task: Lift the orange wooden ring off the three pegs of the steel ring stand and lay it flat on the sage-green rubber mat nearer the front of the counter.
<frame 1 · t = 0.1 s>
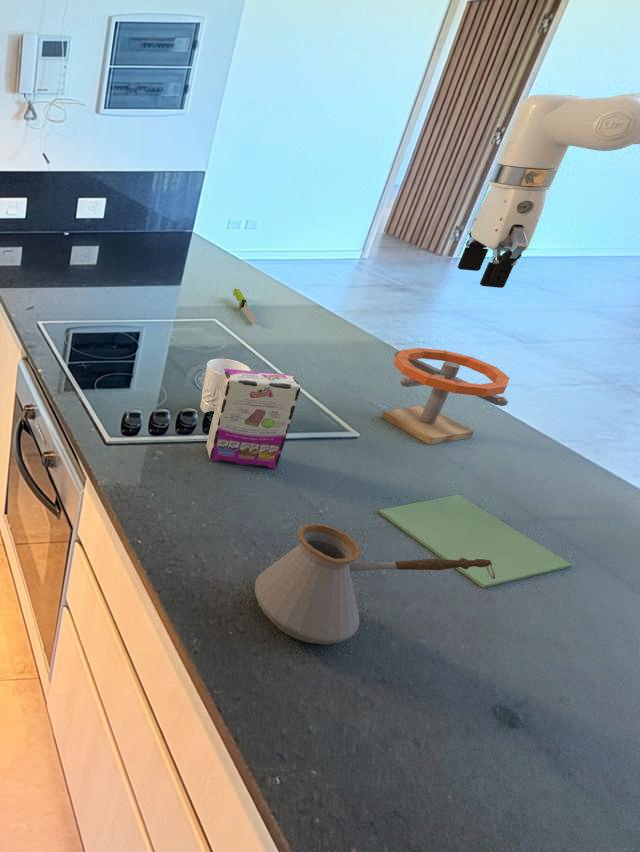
hand: (479, 277, 108), 30 cm above the worktop, tool pointing down, fingers open, 9 cm apart
white cup: (217, 411, 125), on the worktop
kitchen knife: (244, 313, 173), on the worktop
ring: (449, 370, 114), point 12 cm above the worktop, touching ring stand
ring stand: (424, 427, 119), on the worktop
coffee pot: (342, 630, 77), on the worktop
candy bar box: (239, 458, 110), on the worktop
mat: (468, 538, 92), on the worktop
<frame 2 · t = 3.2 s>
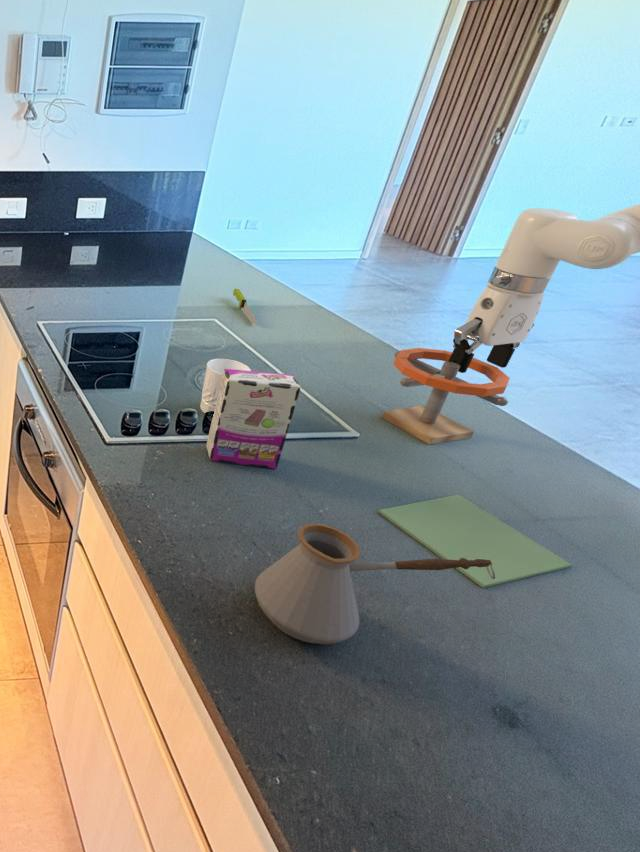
hand: (475, 366, 116), 12 cm above the worktop, tool pointing down, fingers open, 9 cm apart
nothing on the worktop moved.
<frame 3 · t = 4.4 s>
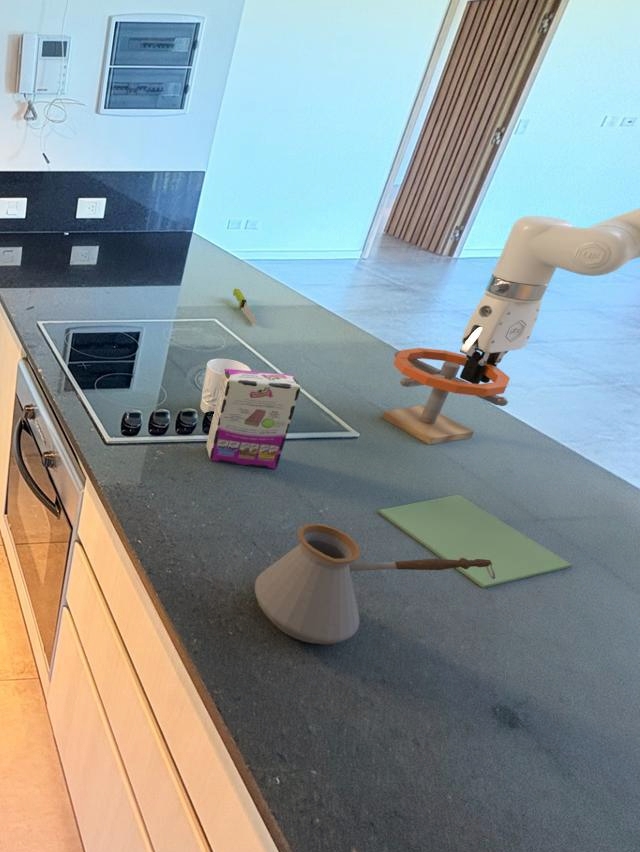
hand: (473, 379, 117), 10 cm above the worktop, tool pointing down, fingers closed on ring, 1 cm apart
ring: (449, 370, 114), point 12 cm above the worktop, touching gripper
everything else where it was.
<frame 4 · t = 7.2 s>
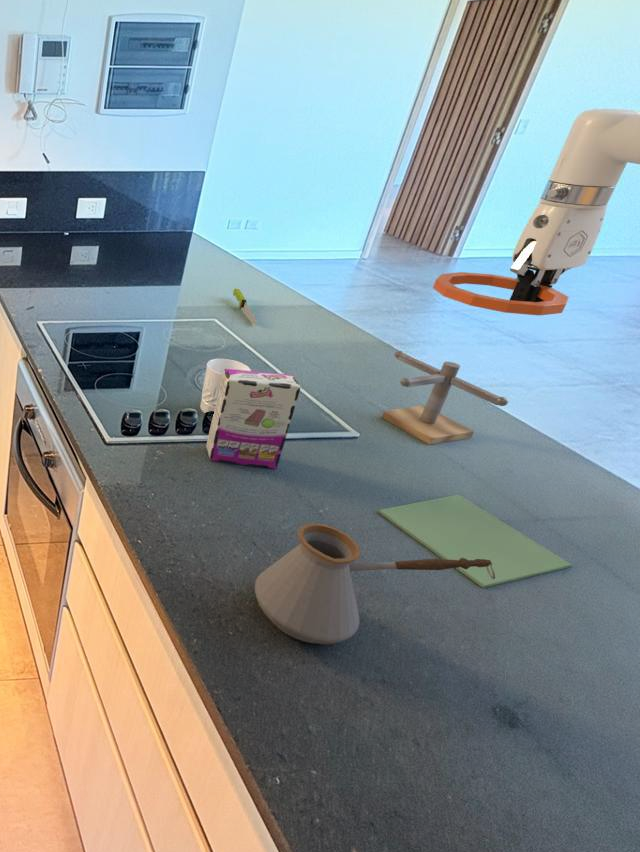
hand: (525, 305, 104), 27 cm above the worktop, tool pointing down, fingers closed on ring
ring: (497, 292, 101), point 30 cm above the worktop, touching gripper
everything else where it was.
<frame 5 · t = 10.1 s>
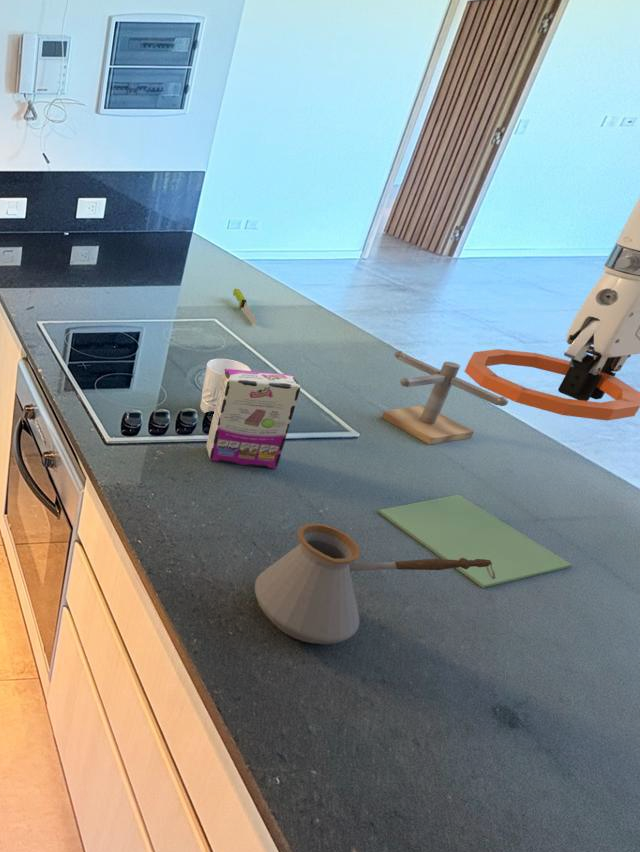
hand: (579, 394, 83), 24 cm above the worktop, tool pointing down, fingers closed on ring
ring: (547, 381, 80), point 26 cm above the worktop, touching gripper
everything else where it was.
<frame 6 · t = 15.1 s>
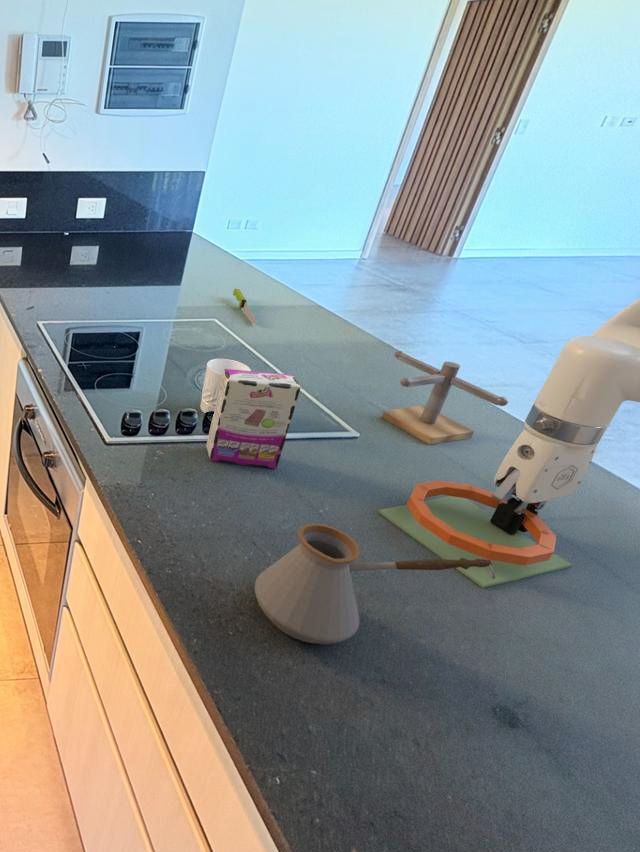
hand: (508, 526, 93), 1 cm above the worktop, tool pointing down, fingers closed on ring, 1 cm apart
ring: (477, 519, 90), point 3 cm above the worktop, touching gripper
everything else where it was.
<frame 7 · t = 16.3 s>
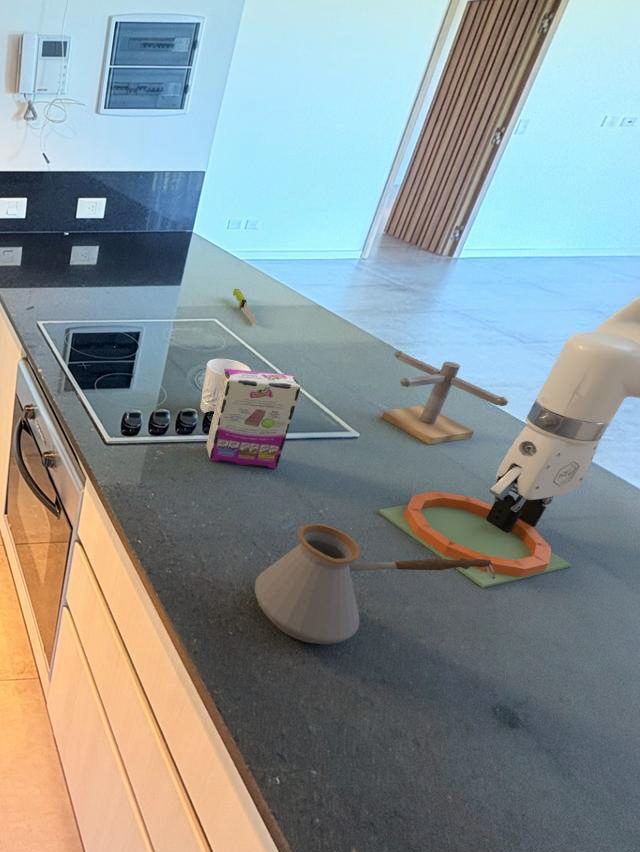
hand: (510, 522, 93), 1 cm above the worktop, tool pointing down, fingers open, 3 cm apart
ring: (474, 530, 91), point 1 cm above the worktop, touching mat
everything else where it was.
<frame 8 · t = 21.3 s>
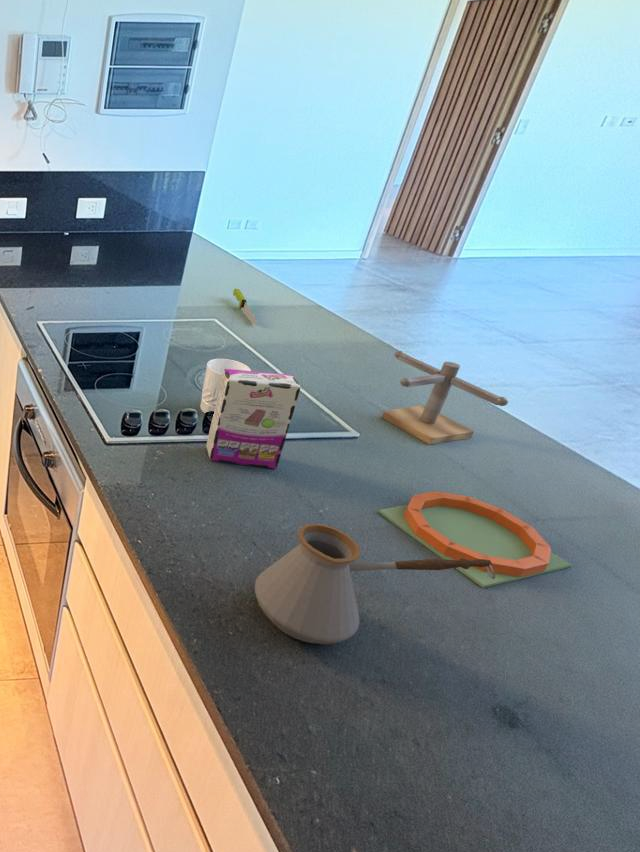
nothing on the worktop moved.
at the end: ring inside the target area on the mat (0.4 cm from its centre), point 1.3 cm above the mat's base; ring touching mat; ring tilted 0° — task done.
